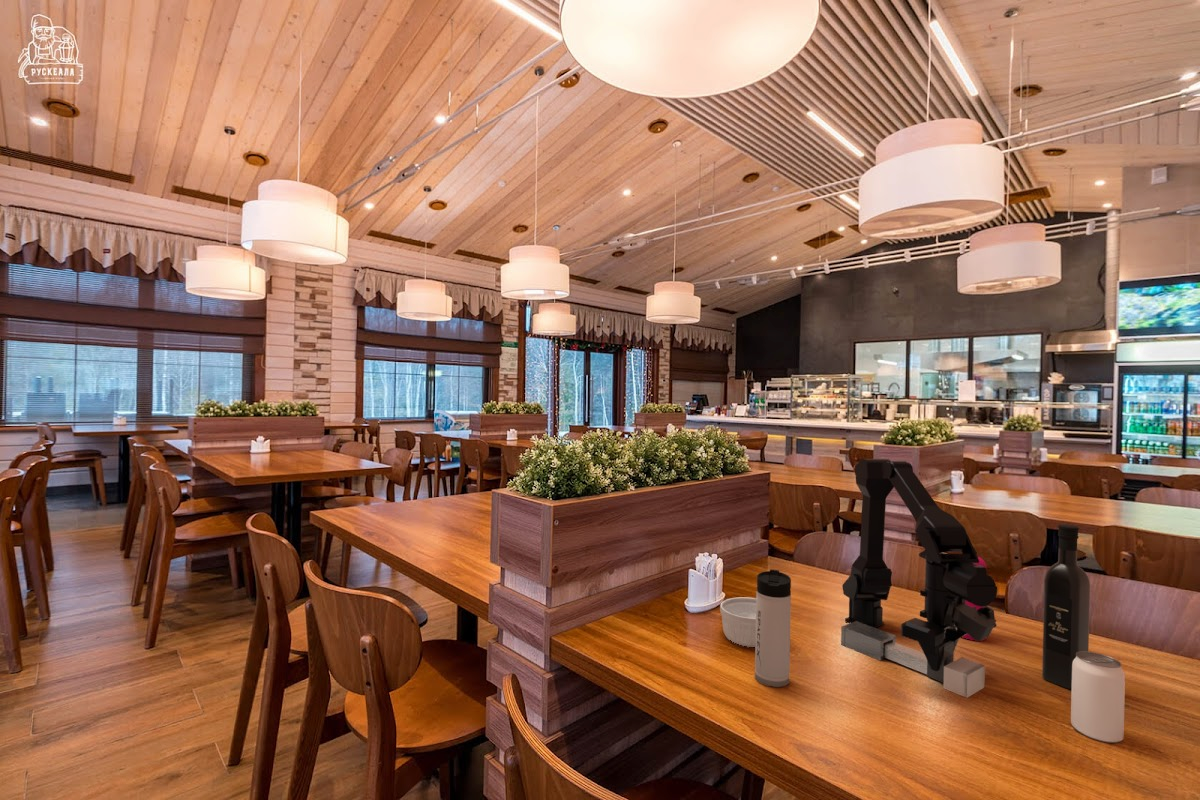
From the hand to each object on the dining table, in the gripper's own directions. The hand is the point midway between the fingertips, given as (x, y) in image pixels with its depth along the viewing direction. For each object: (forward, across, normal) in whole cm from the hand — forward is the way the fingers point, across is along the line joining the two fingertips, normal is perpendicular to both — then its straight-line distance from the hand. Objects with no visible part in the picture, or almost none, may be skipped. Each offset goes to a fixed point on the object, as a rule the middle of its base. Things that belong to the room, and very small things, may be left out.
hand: (940, 667), depth 110 cm
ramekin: (+2, -17, +32) cm, 36 cm away
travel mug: (+2, -28, +17) cm, 33 cm away
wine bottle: (+2, +19, -14) cm, 24 cm away
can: (+2, +3, -23) cm, 23 cm away
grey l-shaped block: (+2, 0, +2) cm, 3 cm away
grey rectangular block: (+2, 0, -4) cm, 5 cm away
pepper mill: (+2, +27, +6) cm, 28 cm away
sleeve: (+2, 0, +14) cm, 14 cm away
